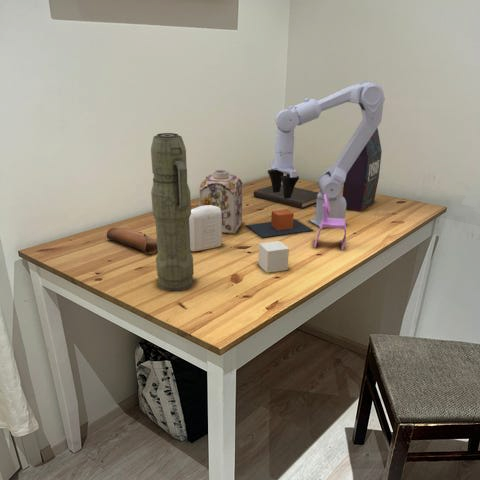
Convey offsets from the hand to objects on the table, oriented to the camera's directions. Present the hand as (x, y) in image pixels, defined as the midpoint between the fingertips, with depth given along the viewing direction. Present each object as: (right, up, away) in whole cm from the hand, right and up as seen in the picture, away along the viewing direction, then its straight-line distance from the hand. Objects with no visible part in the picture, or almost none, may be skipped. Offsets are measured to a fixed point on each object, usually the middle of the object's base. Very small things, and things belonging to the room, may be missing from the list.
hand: (281, 195), depth 158 cm
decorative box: (+31, +2, +24) cm, 39 cm away
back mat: (-1, -11, 0) cm, 11 cm away
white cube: (-5, -27, -27) cm, 38 cm away
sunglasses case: (-44, -18, -14) cm, 50 cm away
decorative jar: (-20, -11, 0) cm, 22 cm away
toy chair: (+13, -19, -13) cm, 26 cm away
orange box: (0, -11, 0) cm, 11 cm away
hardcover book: (+6, +6, +31) cm, 32 cm away
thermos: (-30, -32, -37) cm, 57 cm away
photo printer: (-24, -20, -16) cm, 35 cm away
